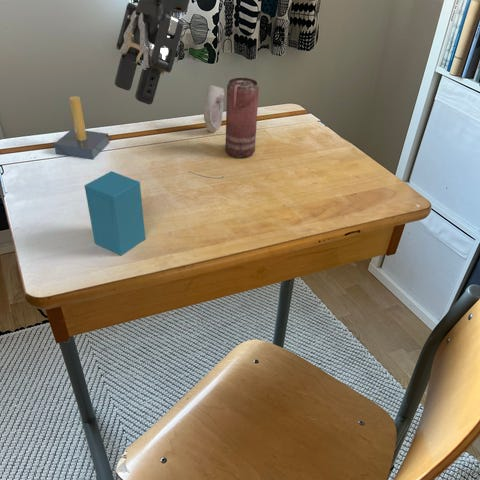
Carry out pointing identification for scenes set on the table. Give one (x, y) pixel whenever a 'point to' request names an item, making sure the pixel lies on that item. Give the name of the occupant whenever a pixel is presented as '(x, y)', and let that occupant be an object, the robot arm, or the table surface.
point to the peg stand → (80, 136)
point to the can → (241, 117)
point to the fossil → (213, 108)
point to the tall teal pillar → (116, 212)
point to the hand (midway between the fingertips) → (132, 95)
